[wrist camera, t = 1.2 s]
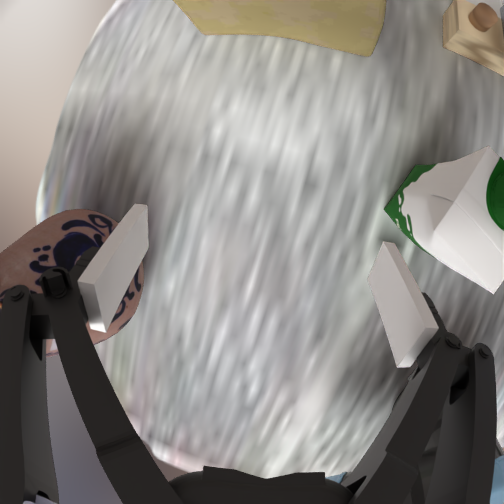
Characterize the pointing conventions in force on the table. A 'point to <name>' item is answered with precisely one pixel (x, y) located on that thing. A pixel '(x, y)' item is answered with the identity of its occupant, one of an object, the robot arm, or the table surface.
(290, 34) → the cheese
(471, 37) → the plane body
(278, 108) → the table surface
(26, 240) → the ceramic pitcher
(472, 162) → the milk carton
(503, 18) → the lever cap
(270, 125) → the table surface
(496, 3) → the mat
